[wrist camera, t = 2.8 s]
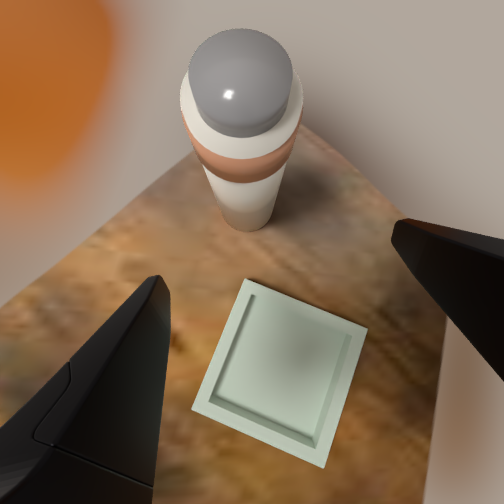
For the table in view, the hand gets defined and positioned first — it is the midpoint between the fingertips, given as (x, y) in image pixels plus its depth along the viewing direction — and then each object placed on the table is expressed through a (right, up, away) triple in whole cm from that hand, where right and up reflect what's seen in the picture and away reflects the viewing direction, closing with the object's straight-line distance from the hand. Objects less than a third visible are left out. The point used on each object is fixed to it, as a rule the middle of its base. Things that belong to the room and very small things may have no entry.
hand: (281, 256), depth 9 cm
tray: (+1, -9, +11) cm, 15 cm away
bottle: (-2, +5, +13) cm, 14 cm away
